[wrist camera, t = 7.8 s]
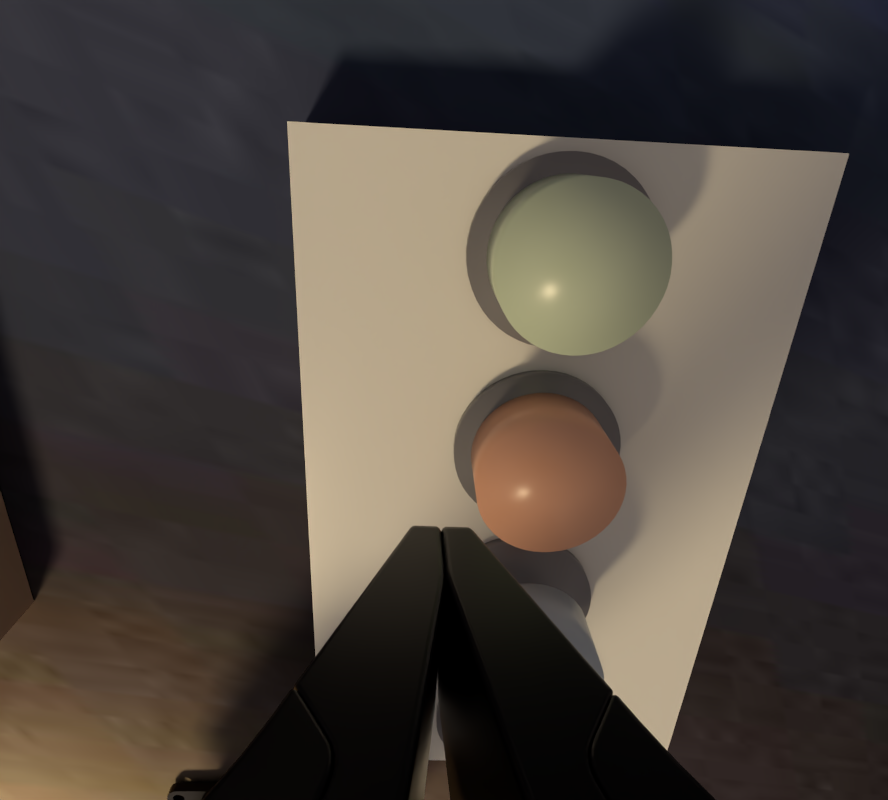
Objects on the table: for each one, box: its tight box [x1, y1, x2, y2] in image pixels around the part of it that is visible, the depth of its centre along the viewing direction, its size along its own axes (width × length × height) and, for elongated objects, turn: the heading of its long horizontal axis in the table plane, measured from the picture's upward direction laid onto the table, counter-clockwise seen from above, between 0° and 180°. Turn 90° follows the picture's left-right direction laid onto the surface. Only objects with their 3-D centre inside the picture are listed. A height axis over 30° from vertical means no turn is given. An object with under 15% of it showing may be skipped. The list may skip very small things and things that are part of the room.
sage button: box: [487, 173, 672, 356], centre depth 14 cm, size 4×4×2 cm
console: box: [287, 121, 849, 760], centre depth 19 cm, size 23×14×2 cm, turn 177°
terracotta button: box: [471, 393, 627, 552], centre depth 16 cm, size 4×4×2 cm
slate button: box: [520, 583, 604, 680], centre depth 17 cm, size 4×4×2 cm
